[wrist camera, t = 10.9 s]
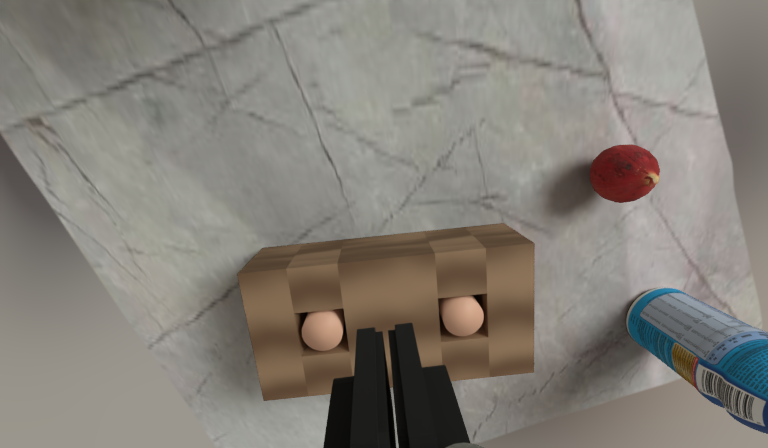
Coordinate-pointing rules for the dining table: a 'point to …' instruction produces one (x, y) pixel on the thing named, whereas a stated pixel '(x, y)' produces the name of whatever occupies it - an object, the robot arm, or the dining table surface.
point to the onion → (624, 173)
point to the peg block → (391, 303)
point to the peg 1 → (323, 329)
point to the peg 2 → (461, 314)
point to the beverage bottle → (706, 351)
